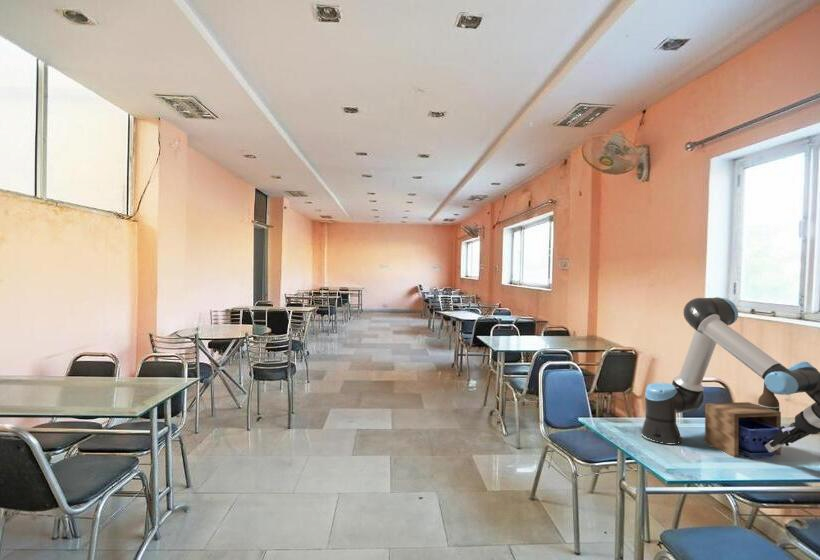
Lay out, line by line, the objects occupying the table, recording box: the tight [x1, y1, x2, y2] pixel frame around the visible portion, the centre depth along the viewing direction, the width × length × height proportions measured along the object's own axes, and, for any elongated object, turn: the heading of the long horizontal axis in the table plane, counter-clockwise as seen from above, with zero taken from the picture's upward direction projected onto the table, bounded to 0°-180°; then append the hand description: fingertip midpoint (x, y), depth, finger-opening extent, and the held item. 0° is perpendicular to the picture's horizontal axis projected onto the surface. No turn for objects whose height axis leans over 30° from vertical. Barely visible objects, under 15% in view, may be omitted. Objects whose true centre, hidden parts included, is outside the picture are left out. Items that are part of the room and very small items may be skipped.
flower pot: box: [738, 419, 780, 458], centre depth 172 cm, size 13×13×12 cm
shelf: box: [704, 401, 782, 458], centre depth 176 cm, size 14×21×17 cm
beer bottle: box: [757, 381, 780, 412], centre depth 201 cm, size 8×8×24 cm
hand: (768, 448), depth 165 cm, fingers closed
